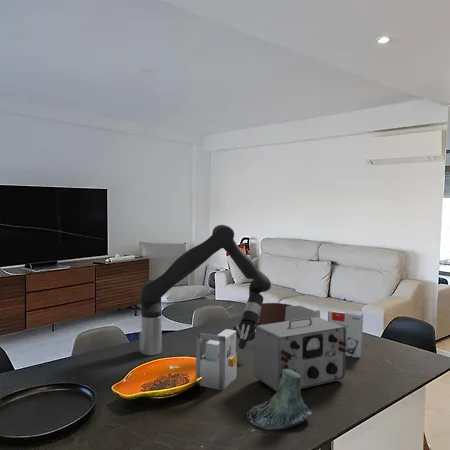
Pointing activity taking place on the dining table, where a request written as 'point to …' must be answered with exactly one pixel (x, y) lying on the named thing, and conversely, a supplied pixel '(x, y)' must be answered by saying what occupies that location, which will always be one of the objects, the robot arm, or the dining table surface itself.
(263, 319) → the letter holder
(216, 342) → the skincare box
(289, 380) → the tree stump
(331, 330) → the vintage electronic device
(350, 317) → the hard drive box
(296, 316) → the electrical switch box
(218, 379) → the rack bay
